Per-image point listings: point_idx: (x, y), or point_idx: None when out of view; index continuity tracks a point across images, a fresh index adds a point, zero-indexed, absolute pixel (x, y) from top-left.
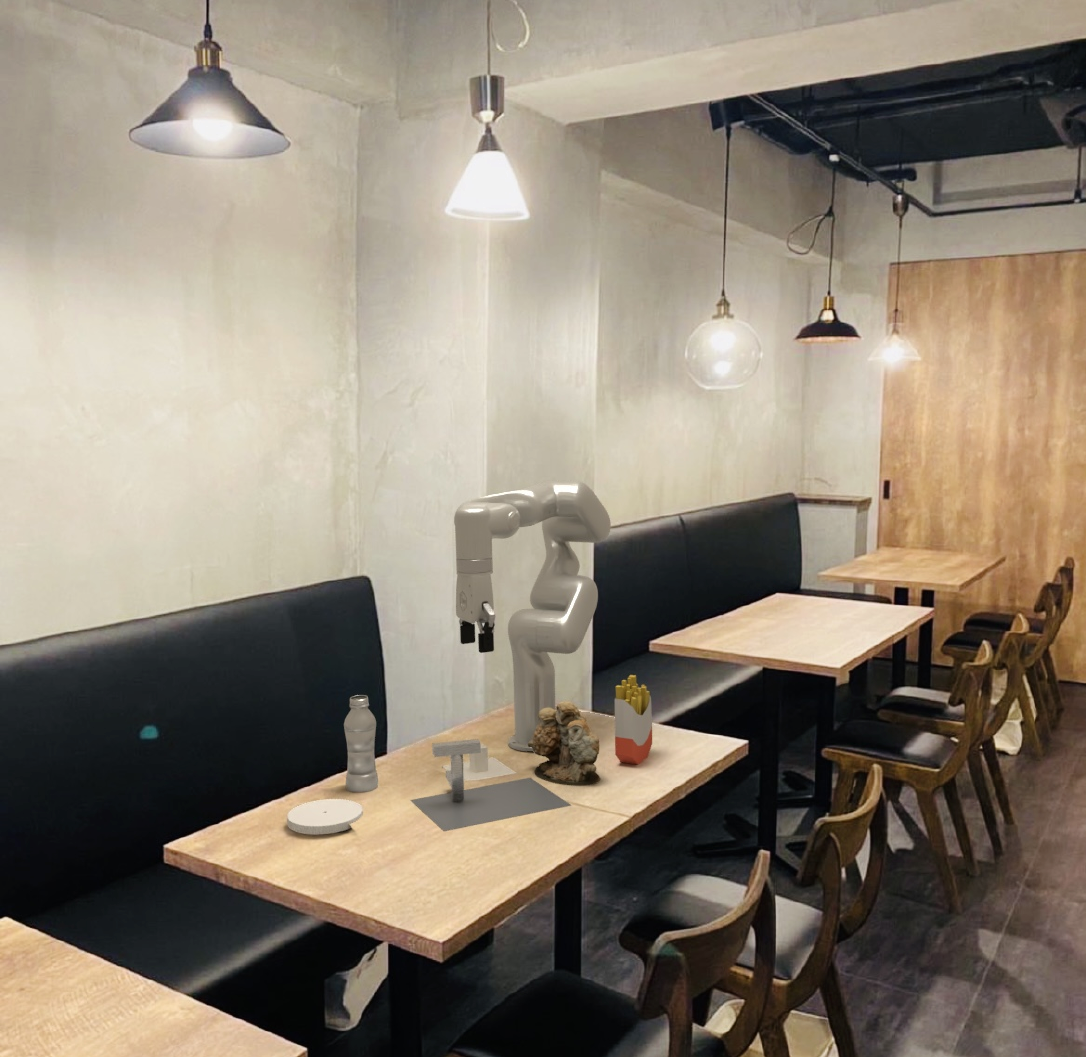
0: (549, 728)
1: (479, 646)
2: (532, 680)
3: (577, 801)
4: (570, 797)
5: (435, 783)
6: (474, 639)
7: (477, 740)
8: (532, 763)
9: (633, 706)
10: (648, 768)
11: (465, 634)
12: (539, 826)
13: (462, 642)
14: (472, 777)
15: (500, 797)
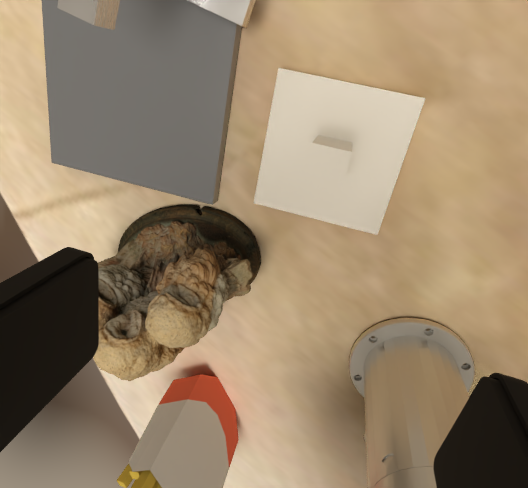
0: (157, 289)
1: (31, 267)
2: (392, 481)
3: (102, 203)
4: (123, 208)
5: (369, 36)
6: (439, 482)
7: (81, 12)
8: (316, 284)
9: (128, 464)
10: (167, 378)
11: (499, 482)
12: (31, 71)
13: (489, 381)
14: (295, 109)
15: (147, 79)
